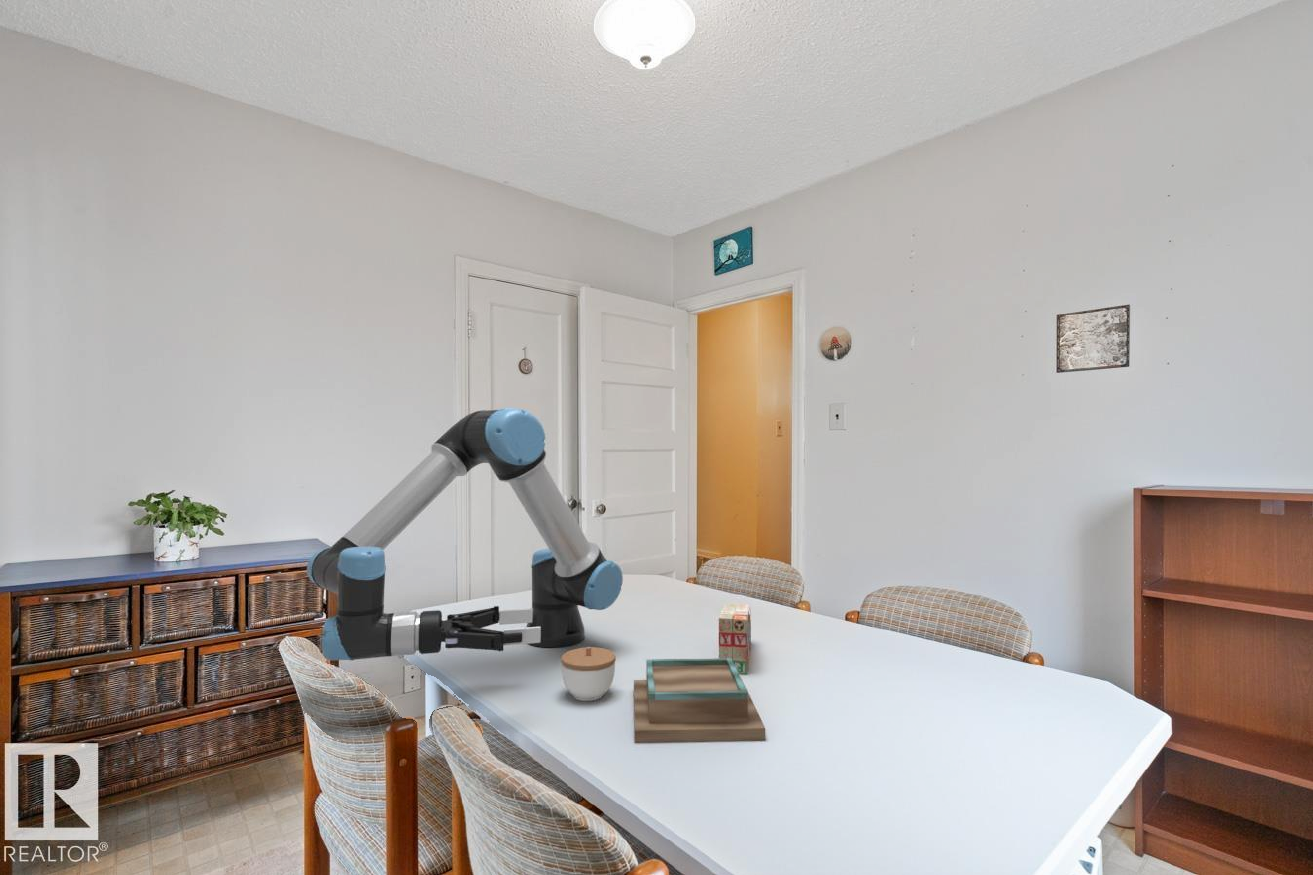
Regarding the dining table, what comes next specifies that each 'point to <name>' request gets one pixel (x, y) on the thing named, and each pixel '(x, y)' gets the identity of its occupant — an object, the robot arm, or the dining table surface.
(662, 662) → the base
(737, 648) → the stack of blocks
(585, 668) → the lidded jar
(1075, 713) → the dining table surface
